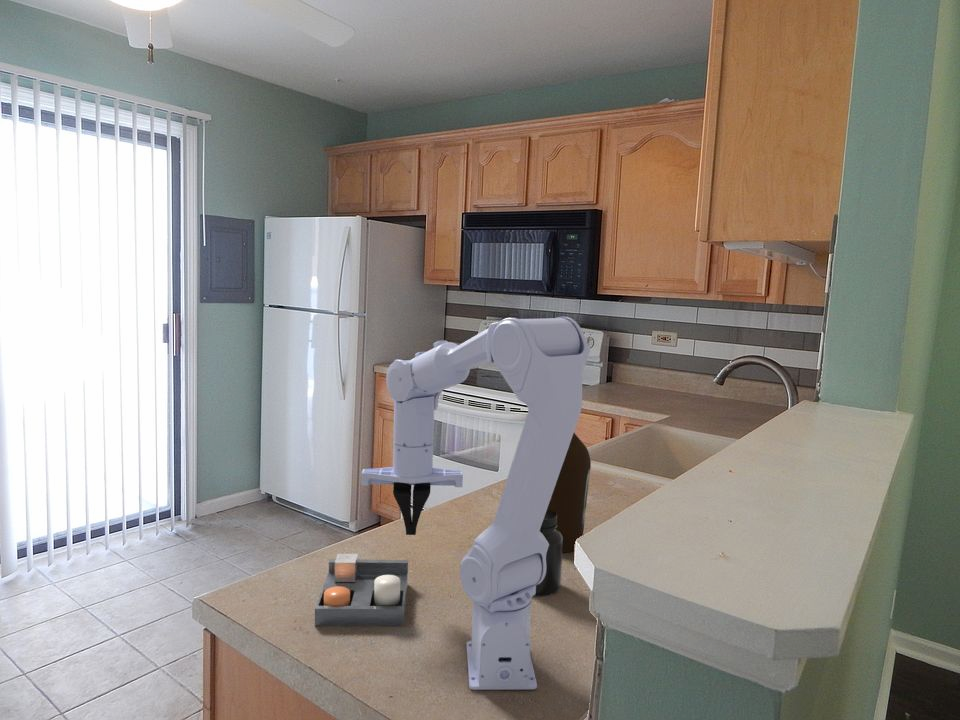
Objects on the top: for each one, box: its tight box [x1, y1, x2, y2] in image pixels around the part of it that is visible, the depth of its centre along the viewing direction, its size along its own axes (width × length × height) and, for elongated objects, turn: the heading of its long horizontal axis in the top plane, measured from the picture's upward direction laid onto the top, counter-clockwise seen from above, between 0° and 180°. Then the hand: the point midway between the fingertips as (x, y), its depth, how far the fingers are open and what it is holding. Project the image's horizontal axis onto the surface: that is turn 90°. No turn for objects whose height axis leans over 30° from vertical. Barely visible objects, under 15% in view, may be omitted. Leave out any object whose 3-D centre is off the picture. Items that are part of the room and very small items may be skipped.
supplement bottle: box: [533, 510, 563, 597], centre depth 101 cm, size 7×7×12 cm
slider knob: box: [335, 553, 359, 582], centre depth 97 cm, size 3×3×3 cm
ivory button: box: [374, 575, 400, 606], centre depth 91 cm, size 4×4×3 cm
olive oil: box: [547, 432, 592, 553], centre depth 117 cm, size 11×11×25 cm
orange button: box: [324, 586, 350, 606], centre depth 91 cm, size 4×4×3 cm
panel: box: [314, 558, 409, 627], centre depth 94 cm, size 12×12×4 cm
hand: (411, 532), depth 95 cm, fingers closed
